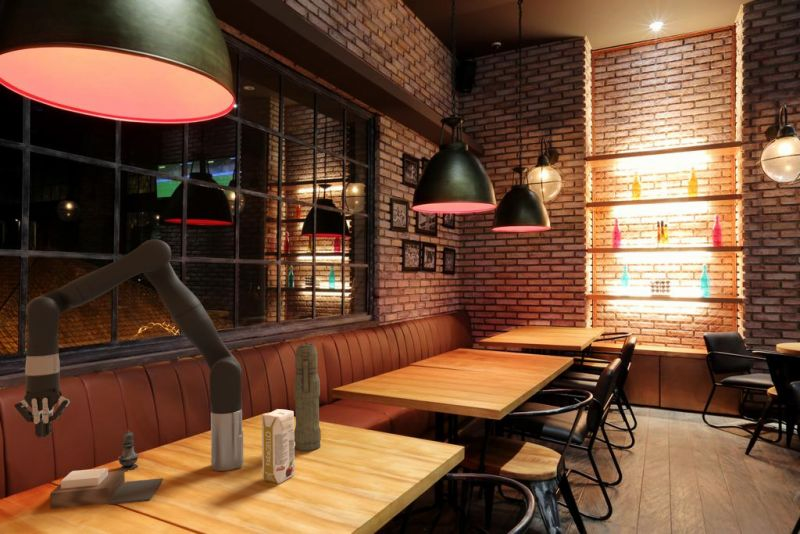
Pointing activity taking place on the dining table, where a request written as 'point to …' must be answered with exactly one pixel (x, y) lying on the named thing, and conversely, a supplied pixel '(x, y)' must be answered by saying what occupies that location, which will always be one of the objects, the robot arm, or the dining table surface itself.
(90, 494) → the block
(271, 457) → the juice carton
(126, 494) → the mat
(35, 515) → the dining table surface
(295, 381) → the thermos
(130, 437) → the salt shaker
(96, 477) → the tile
